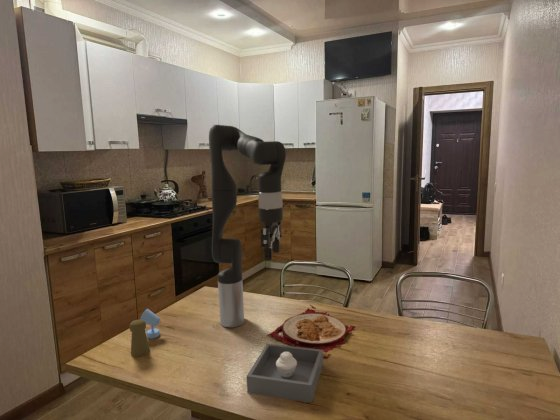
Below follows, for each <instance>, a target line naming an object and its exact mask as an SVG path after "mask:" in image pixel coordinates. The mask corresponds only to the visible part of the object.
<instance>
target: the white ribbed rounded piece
mask: <svg viewBox="0 0 560 420" xmlns="http://www.w3.org/2000/svg"><path fill="white" fill-rule="evenodd" d="M276 366H277V369H278V371H279V372H280V374H281V375H282V376H283V377H286V378H287V377H291V376H292V375H293V373H294V371H295V369H296V366H297V361H296V359H294V358H293V356H292V354H291V353H290V352H283V353H281V355H280V358H279V359H278V360H277V361H276Z"/></svg>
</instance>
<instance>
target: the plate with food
mask: <svg viewBox="0 0 560 420" xmlns="http://www.w3.org/2000/svg"><path fill="white" fill-rule="evenodd" d="M309 306H310V307H311V309H310V308H309V307H307V309H306V310H305V311H303V312H301V313H299V314H296V315H294V316H291V317H289V318H286V320H284V322H283V324H281V325H279V326H278V327H277V328H276V329H275V330H273V331H271V332H270V333H267V336H269V337H271V338H274V339H275V340H278V341H279V340H280V342H282V343H285V344H286V345H288V346H293V347H302V348H310V349H319V350H323V358H328V357H330V356H331V353H329V354H327V353H328V352H329V351H333V350H334V349H335V348H336V347H337V346H339V347H338V348H340V347H342V345H344V344H345V343H346V341H345V336H347V335H350V336H352V335H353V331H356V328H357V326H355V325H349V326H348V325H347V324H346V325H345V323H343V321H341V320H340V319H339V318H337V317H334V316H332V315H330V313H328V311H325V312H324V311H322V312H321V311H316V307H315V306H313V305H312V304H310V305H309ZM314 309H315V310H314ZM353 328H354V329H353ZM280 331H281V334H282V335H279V332H280ZM346 334H347V335H346ZM324 353H325V354H324Z"/></svg>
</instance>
